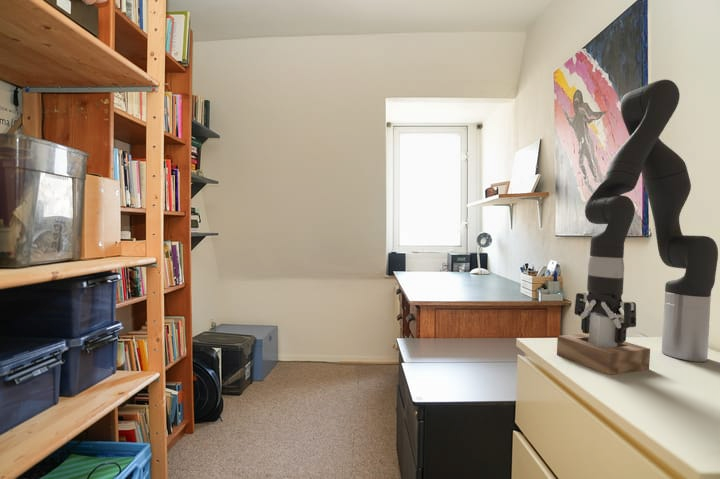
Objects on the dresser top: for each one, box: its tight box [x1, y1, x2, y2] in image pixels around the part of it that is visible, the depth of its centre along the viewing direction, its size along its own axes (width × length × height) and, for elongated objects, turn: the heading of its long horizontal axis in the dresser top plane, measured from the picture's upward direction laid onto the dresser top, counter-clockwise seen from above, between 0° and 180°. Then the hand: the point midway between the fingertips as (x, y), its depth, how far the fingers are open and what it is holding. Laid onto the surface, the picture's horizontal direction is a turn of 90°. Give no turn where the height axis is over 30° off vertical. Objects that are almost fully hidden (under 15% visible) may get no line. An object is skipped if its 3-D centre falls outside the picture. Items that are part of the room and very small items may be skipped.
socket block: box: [556, 333, 651, 376], centre depth 90 cm, size 14×14×5 cm
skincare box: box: [588, 313, 617, 348], centre depth 90 cm, size 6×4×12 cm
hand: (602, 337), depth 90 cm, fingers open, 8 cm apart
